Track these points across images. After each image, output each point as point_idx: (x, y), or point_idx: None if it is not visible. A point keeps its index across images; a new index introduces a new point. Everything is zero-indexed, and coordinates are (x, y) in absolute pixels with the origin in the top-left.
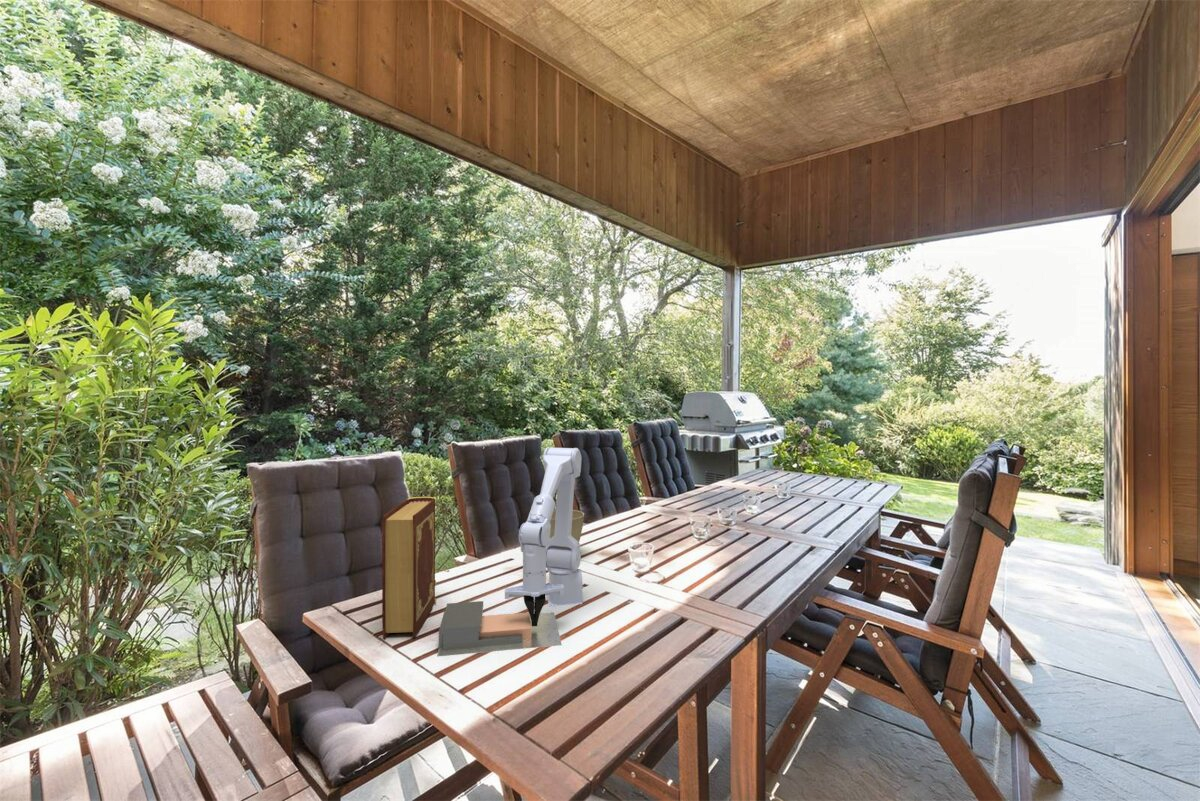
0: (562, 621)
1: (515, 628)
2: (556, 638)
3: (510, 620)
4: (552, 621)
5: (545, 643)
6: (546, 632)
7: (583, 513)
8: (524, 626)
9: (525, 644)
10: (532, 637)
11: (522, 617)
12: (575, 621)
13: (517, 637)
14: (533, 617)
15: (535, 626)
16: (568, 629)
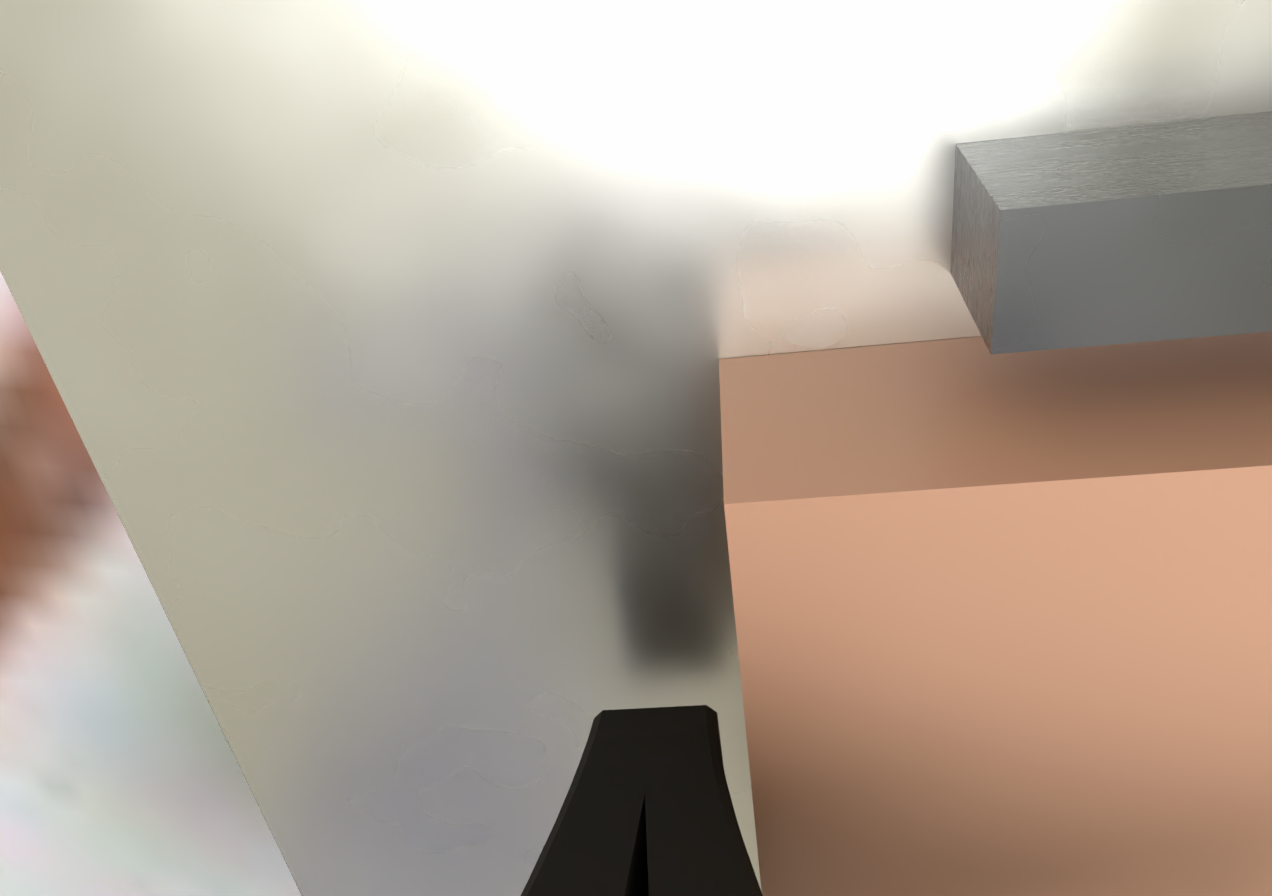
0: (220, 885)
1: (1211, 532)
2: (107, 309)
3: (1247, 885)
4: (359, 880)
5: (321, 68)
6: (399, 567)
7: None
8: (924, 614)
9: (875, 52)
10: (692, 395)
11: None
12: (7, 868)
13: (1152, 190)
14: (673, 881)
15: None
16: (35, 674)
